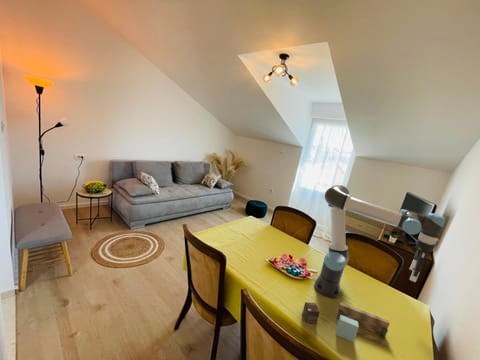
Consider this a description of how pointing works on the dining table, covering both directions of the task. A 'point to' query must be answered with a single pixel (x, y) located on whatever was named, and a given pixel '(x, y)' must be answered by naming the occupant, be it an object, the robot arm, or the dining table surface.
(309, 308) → the box
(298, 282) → the dining table surface
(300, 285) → the dining table surface
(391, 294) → the dining table surface
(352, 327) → the pale grey block
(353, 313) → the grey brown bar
